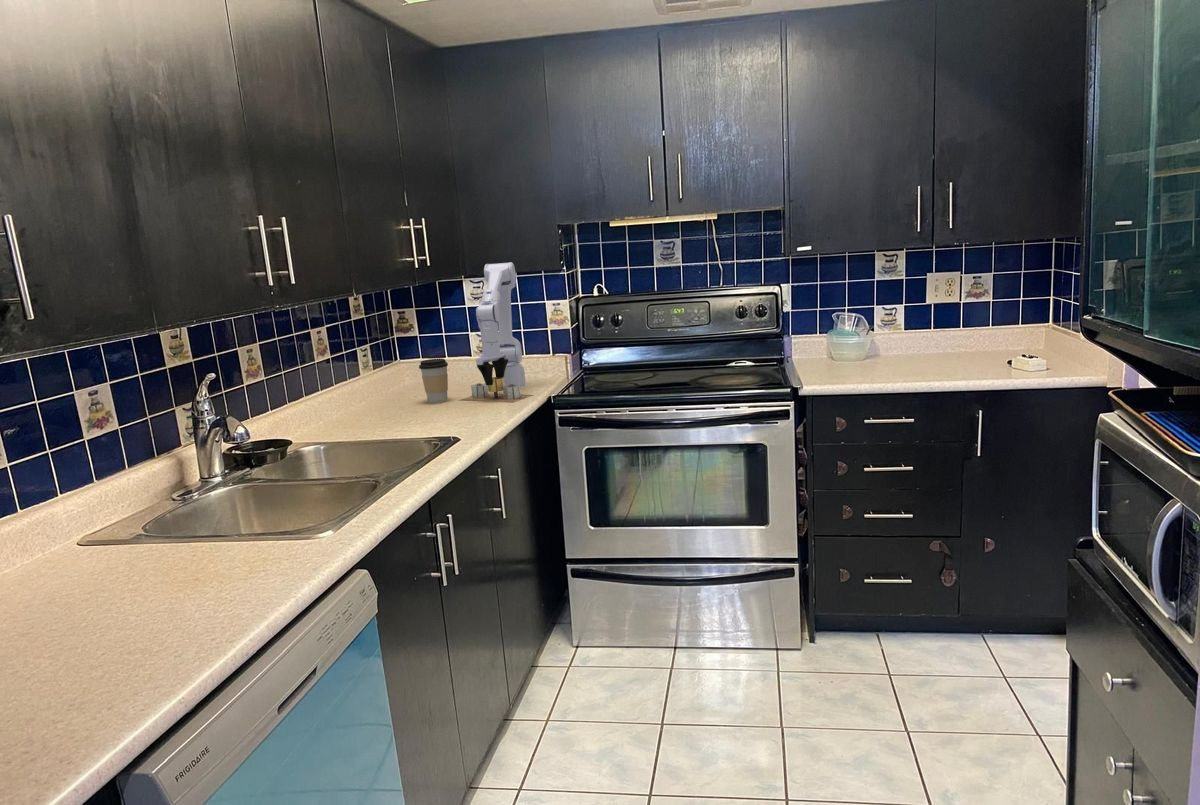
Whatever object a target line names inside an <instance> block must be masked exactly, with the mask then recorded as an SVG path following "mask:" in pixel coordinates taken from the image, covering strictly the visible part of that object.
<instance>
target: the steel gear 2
mask: <svg viewBox="0 0 1200 805" xmlns="http://www.w3.org/2000/svg"><path fill="white" fill-rule="evenodd" d="M502 394H504V399H505V400H514V399H519V398H521V394H522V393H521V386H520V385H517V384H514V385H513V387H510V386H509V385H506V386H503V393H502Z"/></svg>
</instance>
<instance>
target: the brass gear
mask: <svg viewBox="0 0 1200 805" xmlns="http://www.w3.org/2000/svg"><path fill="white" fill-rule="evenodd" d="M492 379H493V383H492V385H487V386H488V393H494V392H498V393H499V392H502V391H503V386H505V384H504V377H496V376H492Z"/></svg>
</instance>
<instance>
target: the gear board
mask: <svg viewBox="0 0 1200 805" xmlns="http://www.w3.org/2000/svg"><path fill="white" fill-rule="evenodd" d="M476 384H477V386H481V384H482V383H481V382H478V383H476ZM509 386H510V387H513V384H510V385H509ZM488 396H489V397H486V398H480V399H479V398H478V399H473V398H472V395H471V396H468V397H464V398H461V399H458V401H461V402H463V401H464V402H484V403H485V402H489V403H513V404H514V403H517V402H519V401H521V400H525V399H527V398H530V397H533V396H534V394H522V393H521V398H519V399H514V400H505V399H504V393H499V392H488Z"/></svg>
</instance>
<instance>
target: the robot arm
mask: <svg viewBox="0 0 1200 805" xmlns="http://www.w3.org/2000/svg"><path fill="white" fill-rule="evenodd" d="M515 268H516V267H515V264H514V263H513V262H512V261H511V262H502V263H500V262H499V263H486V264H485V265H484V268H483V275H484V279H485V282H486V283H487V289H485V290H484V291H483V293H482V297H481V300H480V304H479V305H478V306H477V307H476V308H475V317H476V321H477V324H478V329H479V331H480V340H481V341H480V342H481V349H482V355H480V356H479V357H478V358H475V364H476V367H477V368H476V369H478V370H479V372H480V374H481V375H482V378H483V380H484V384H486V385H487V386H488V385H492V383H493V379H492V377H493V372H494V373H495V374H494V375H495V377H504V384H505V386H506V385H510V384H513V385H514V384H517V385H520V387H527V385H526V373H525V371H526V370H525V368H524V366H523V365H522V364H521V362H522V361H523V350H522V344H521V342H520V341H519V340H518V338H515V337H514V336H513V319H512V298H511V296H512V295H511V294H512V290H513V289H514V288H516V284H517V279H516V269H515Z"/></svg>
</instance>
